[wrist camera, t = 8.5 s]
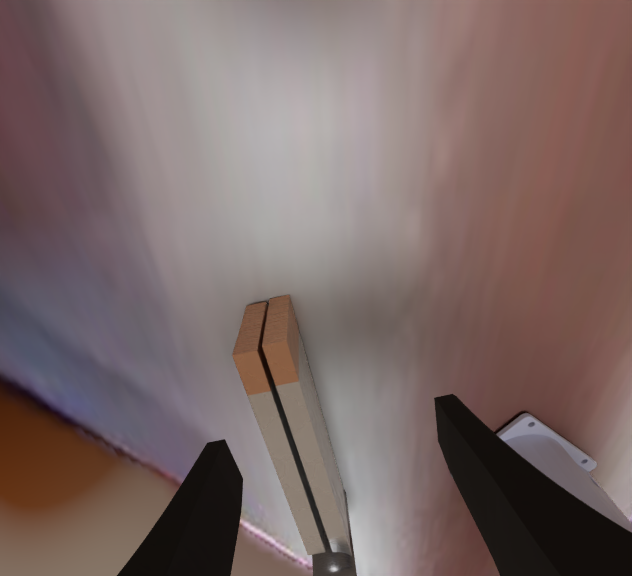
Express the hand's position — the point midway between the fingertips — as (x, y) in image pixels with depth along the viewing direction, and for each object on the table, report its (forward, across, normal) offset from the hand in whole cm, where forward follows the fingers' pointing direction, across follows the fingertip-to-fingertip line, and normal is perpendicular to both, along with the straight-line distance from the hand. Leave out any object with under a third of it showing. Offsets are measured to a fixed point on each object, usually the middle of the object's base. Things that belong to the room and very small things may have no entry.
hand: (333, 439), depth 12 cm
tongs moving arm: (+10, +4, +8) cm, 13 cm away
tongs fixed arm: (+10, +3, +9) cm, 14 cm away
